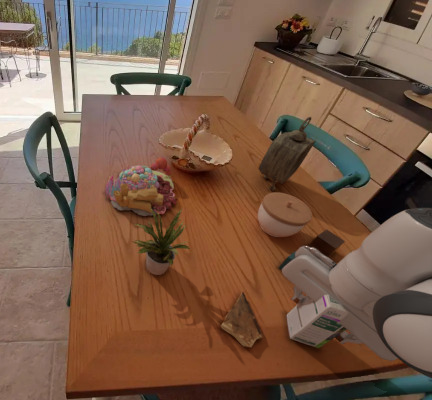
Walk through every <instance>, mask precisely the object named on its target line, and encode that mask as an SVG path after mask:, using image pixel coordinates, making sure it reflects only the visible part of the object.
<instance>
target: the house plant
mask: <svg viewBox="0 0 432 400" xmlns="http://www.w3.org/2000/svg"><path fill="white" fill-rule="evenodd" d="M149 208H150V207H149ZM150 210H151V212H152V214H153V215H152V216H153V220H154V226H155V228H156V230H154V226H153V225H152V223H151V221H149V220H147V221H148V225H149V226H148V225H146V224H140V223H133V225H134V226H137V227H139V228H141V229H143V231H144V233H146V234H149V235H150V236H151V237H152V239H150V240H146V241H143V240H139V239H136V240H135V239H134V241H131V242H132V243H134V244H136V247H138V248H140V249H139V250H138V251H137V254H145V258H146V259H145V262H146V263H145V264H146V269H147V271H148V272H149V273H150V274H152V275H154V276H162V275H164V274H165V273H166V272H167V270H168V269H169V267H172V266H173V264H174V260H175V258H176V255H177V256H178V255H179V252H178V249H182V250H189V251H191V248H190V247H189V246H188V245H186V244H187V243H189V241H185V242H181V243H175V244H173V243H174V242H175V241H176V240H177V239H178V238H179V237H180V236H181V234H182V233H183V232H184V230H185V229H186V227H187V225H188V224H187V223H186V224H185V225H184V226H183V224H184V220H183V221H182V222H181V223H180V224H179V225H178V227H177V228H176V229H175V228H174V227H175V226H176V225H177V224H178V223H179V222H180V221H181V219H179V218H180V216H181V213H182V211H183V208H180V209H179V210H178V211H177V213H176V214H175V215H174V217H173V218H172V219H171V222H170V224H169V227H167V228H166V230H165V233H164V231H163V221H162V216H161V214H158V213H157V214H155V213H154V211H153V210H152V209H151V208H150ZM182 226H183V227H182ZM156 232H157V233H156ZM172 244H173V245H172Z"/></svg>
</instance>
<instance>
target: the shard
mask: <svg viewBox="0 0 432 400" xmlns="http://www.w3.org/2000/svg"><path fill="white" fill-rule="evenodd" d="M220 326H221V327H220V328H221V329H222V330H223V331H225V333H228V334H230V335H231V336H232V337H233V338H235V340H237V341H238V343H239V344H240V345H241V346H242V347H246V348H253V346H254V344H255V342H256V341H257V340H259V339H262V338H263V337H264V336H263V333H262V331H261V328H260V326H259V324H258V321H257V319H256V316H255V314H254V312H253V309H252V307H251V305H250V303H249V302H248V299H247V297H246V295H245V293H244V291H242V292H241V293H240V295H239V296H238V299H237V300H236V302H235V303H234V304H233V305H232V307H231V308H230V309H229V310H228V313H227V314H226V316H225V317H224V320H223V321H222V324H221V325H220Z"/></svg>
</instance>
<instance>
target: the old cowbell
mask: <svg viewBox="0 0 432 400" xmlns="http://www.w3.org/2000/svg"><path fill="white" fill-rule="evenodd" d="M311 121H312V117H311V116H308V117H307V118H306V119H305V120H304V121H303V122H302V123H301V125H300V126H299V129H294V130H292V131H285V132H283V133H281V134H280V135H278V136H277V137H276V138H274V139H273V141H272V142H271V144H270V145H269V147H268V148H267V150H266V152H265V154H264V156H263V158H262V160H261V162H260V163H259V166H258V171H259V173H260V174H261V175H263V178H264V179H266V180H268V179H271V180H272V185H271V186H270V187H269V190H270V191H274V192H275V190H276V186H275V185H276V182H277V183H279V184H281V185H283V184H284V183H286V182H287V181H288V180H289V179H290V178H291V177H292V176H293V175H294V174H295V173H296V172H297V171H298V169H299V168H300V166H301V165H302V164H303V162H304V161H305V159H306V158H307V156H308V154H309V153H310V151H311V150H312V149H313V146H314V145H315V143H316V140H314V139H312V138H309V137H308V133H307V132H305V129H306V128H307V127H308V126H309V124H310V122H311Z"/></svg>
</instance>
